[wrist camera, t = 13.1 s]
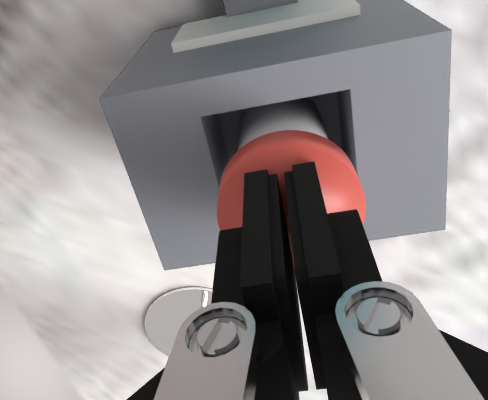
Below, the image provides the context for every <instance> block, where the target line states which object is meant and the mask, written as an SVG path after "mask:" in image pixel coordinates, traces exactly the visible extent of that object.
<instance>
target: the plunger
mask: <svg viewBox="0 0 488 400" xmlns="http://www.w3.org/2000/svg"><path fill="white" fill-rule="evenodd" d="M313 161H314V162H315V166H316V170H317V174H318V178H319V182H320V186H321V191H322V195H323V199H324V203H325V207H326V211H327V214H328V213H335V212H341V211H348V210H354V209H357V210H358V213H359V215H360V218H361V221H362V224H363V223H364V220H365V214H366V201H365V195H364V192H363V189H362V186H361V184H360V181H359V179H358V176H357V173H356V171H355V168H354V166H353V164H352V162H351V160H350V159H349V157H348V156H347V155H346V153H345V152H344V151H343V150H342V149H341V148H340V147H339V146H337V145H336V144H335V143H333V142H332V141H330V140H328V137H327V133H326V130H325V127H324V124H323V121H322V118H321V115H320V113H319V111H318V109H317V108H316V106H315V105H314V104H313V103H312V102H311V101H310V100H308V99H307V98H306V97H305V98H300V99H294V100H289V101H284V102H278V103H273V104H267V105H262V106H257V107H251V108H247V109H246V110H245V112H244V114H243V116H242V118H241V121H240V126H239V137H238V151H237V152H236V153H235V154H234V155H233V157H232V158H231V159H230V161H229V162H228V164H227V165H226V167H225V169H224V172H223V174H222V177H221V181H220V188H219V196H218V204H217V221H218V226H219V229H220V230H225V229H231V228H238V227H242V220H243V194H244V173H248V172H254V171H260V170H265V169H267V171H268V175H272V174H277V177H278V182H279V188H280V193H281V198H282V204H283V209H284V214H285V220H286V225H287V230H288V236H289V241H290V246H291V252H292V257H293V251H292V242H291V233H290V224H289V215H288V206H287V197H286V188H285V180H284V172H289V171H293V170H292V165H295V164H301V163H307V162H313ZM293 263H294V259H293ZM294 269H295V268H294Z"/></svg>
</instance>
